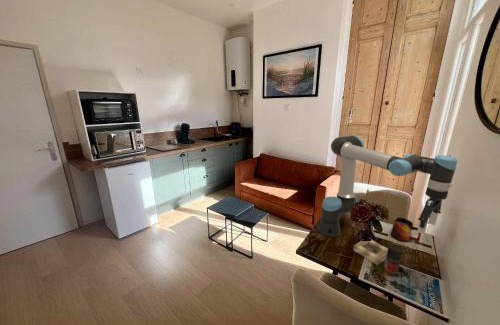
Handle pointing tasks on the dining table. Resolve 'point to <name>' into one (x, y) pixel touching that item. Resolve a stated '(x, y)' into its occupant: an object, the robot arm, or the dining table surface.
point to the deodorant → (393, 260)
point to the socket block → (371, 251)
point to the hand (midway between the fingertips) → (426, 228)
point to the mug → (403, 230)
